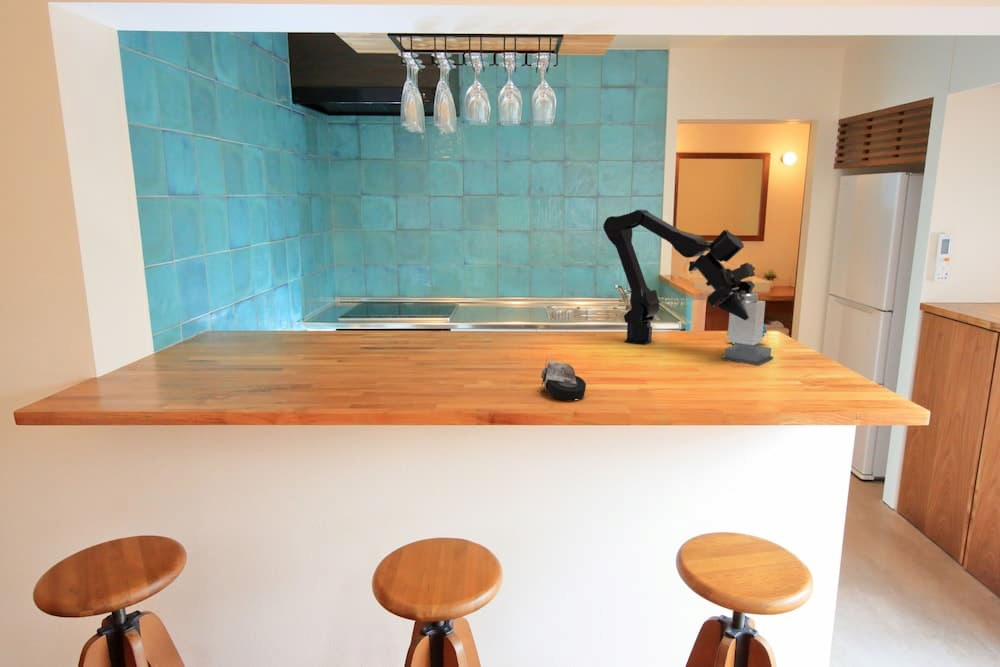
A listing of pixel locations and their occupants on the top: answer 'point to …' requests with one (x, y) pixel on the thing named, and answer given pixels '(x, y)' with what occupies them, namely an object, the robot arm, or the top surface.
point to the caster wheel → (562, 381)
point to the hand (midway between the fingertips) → (751, 317)
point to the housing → (747, 321)
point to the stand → (748, 354)
